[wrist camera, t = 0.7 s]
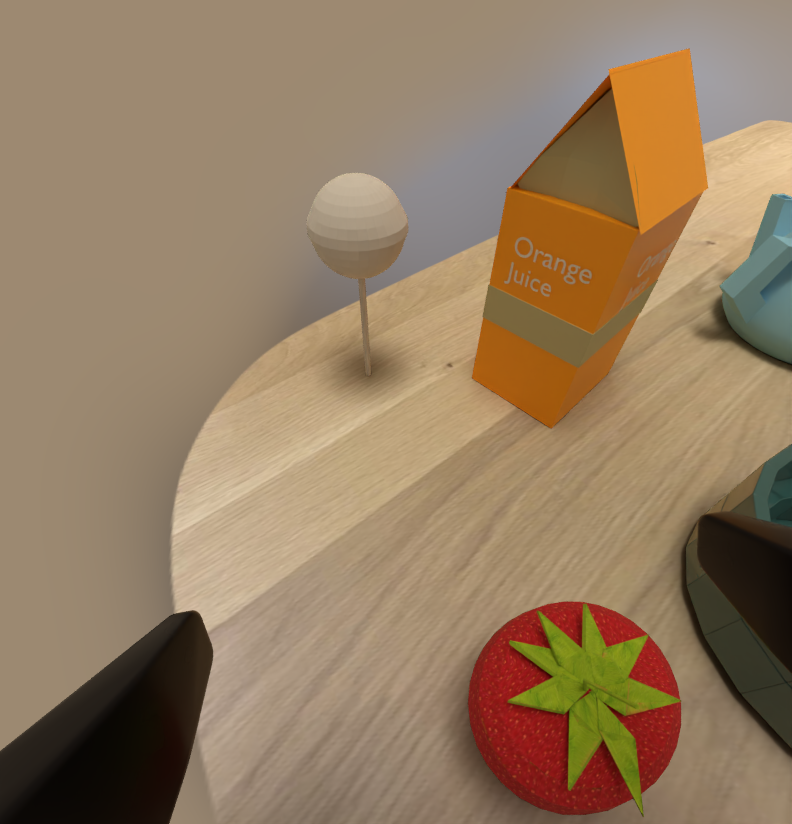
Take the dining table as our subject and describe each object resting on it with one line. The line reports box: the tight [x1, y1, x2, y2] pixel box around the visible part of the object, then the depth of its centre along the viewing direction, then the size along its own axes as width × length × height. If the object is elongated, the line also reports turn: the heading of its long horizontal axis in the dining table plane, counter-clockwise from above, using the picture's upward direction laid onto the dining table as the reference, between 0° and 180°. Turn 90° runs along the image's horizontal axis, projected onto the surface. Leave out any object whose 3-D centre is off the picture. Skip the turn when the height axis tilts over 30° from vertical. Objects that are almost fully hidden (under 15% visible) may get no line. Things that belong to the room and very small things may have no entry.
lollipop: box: [307, 173, 408, 376], centre depth 28 cm, size 6×6×15 cm
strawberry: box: [468, 602, 681, 817], centre depth 15 cm, size 6×8×10 cm
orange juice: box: [472, 49, 708, 428], centre depth 26 cm, size 8×9×20 cm
